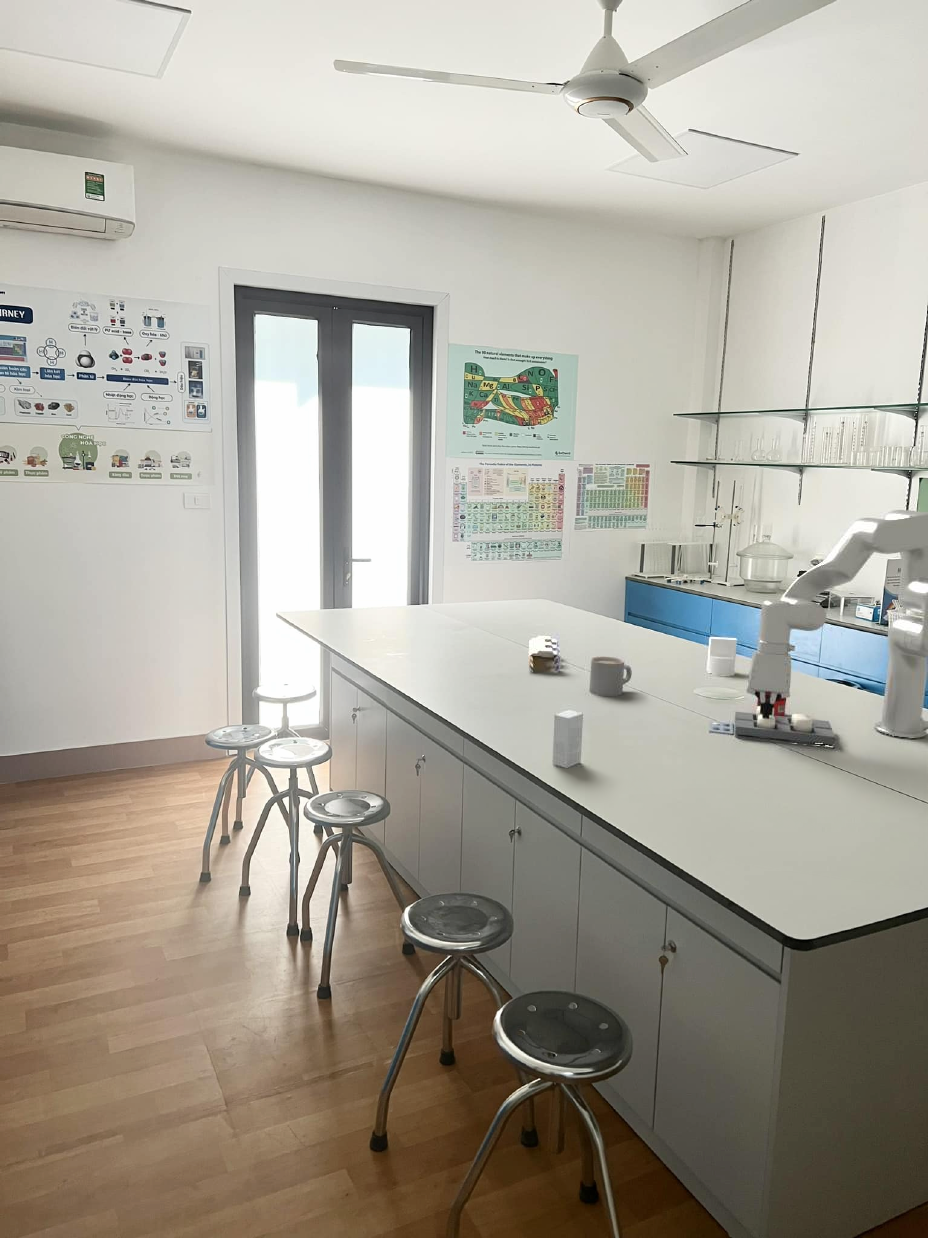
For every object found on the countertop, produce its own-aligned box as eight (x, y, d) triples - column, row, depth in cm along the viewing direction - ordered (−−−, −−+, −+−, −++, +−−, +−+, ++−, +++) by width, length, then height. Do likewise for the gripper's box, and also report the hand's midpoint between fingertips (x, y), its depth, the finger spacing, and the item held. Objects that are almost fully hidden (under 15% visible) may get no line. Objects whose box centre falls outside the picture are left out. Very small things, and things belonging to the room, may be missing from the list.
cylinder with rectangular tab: (731, 670, 311) (734, 636, 309) (736, 676, 302) (739, 641, 300) (704, 669, 312) (707, 635, 310) (708, 675, 303) (711, 640, 301)
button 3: (807, 725, 242) (808, 714, 241) (809, 730, 238) (810, 719, 237) (790, 723, 243) (791, 713, 242) (791, 728, 239) (792, 717, 238)
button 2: (773, 726, 237) (775, 715, 237) (774, 731, 233) (775, 720, 233) (756, 725, 238) (757, 714, 238) (757, 729, 234) (758, 718, 234)
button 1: (772, 717, 244) (773, 707, 243) (773, 722, 240) (774, 711, 239) (755, 715, 245) (756, 705, 245) (756, 720, 241) (757, 709, 240)
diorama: (560, 674, 298) (562, 635, 295) (528, 673, 298) (530, 634, 296) (557, 658, 322) (559, 622, 320) (528, 657, 323) (530, 620, 321)
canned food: (783, 712, 261) (787, 674, 259) (785, 719, 253) (789, 681, 251) (755, 709, 263) (759, 672, 261) (756, 716, 255) (760, 678, 253)
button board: (827, 732, 242) (828, 721, 242) (834, 748, 228) (835, 737, 228) (709, 719, 250) (710, 709, 250) (709, 734, 236) (710, 723, 236)
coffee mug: (595, 696, 270) (597, 664, 269) (585, 688, 280) (586, 656, 278) (638, 695, 273) (640, 663, 271) (625, 687, 283) (628, 656, 281)
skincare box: (565, 758, 213) (568, 709, 211) (581, 762, 211) (584, 713, 209) (551, 764, 209) (553, 714, 207) (566, 769, 206) (569, 718, 204)
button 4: (810, 728, 235) (811, 717, 234) (812, 733, 231) (813, 722, 230) (792, 726, 236) (793, 715, 235) (793, 731, 232) (795, 720, 231)
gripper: (802, 648, 234) (794, 717, 237) (742, 642, 237) (735, 710, 241) (805, 653, 226) (797, 724, 230) (742, 647, 230) (735, 717, 234)
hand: (765, 717), depth 235 cm, fingers closed
